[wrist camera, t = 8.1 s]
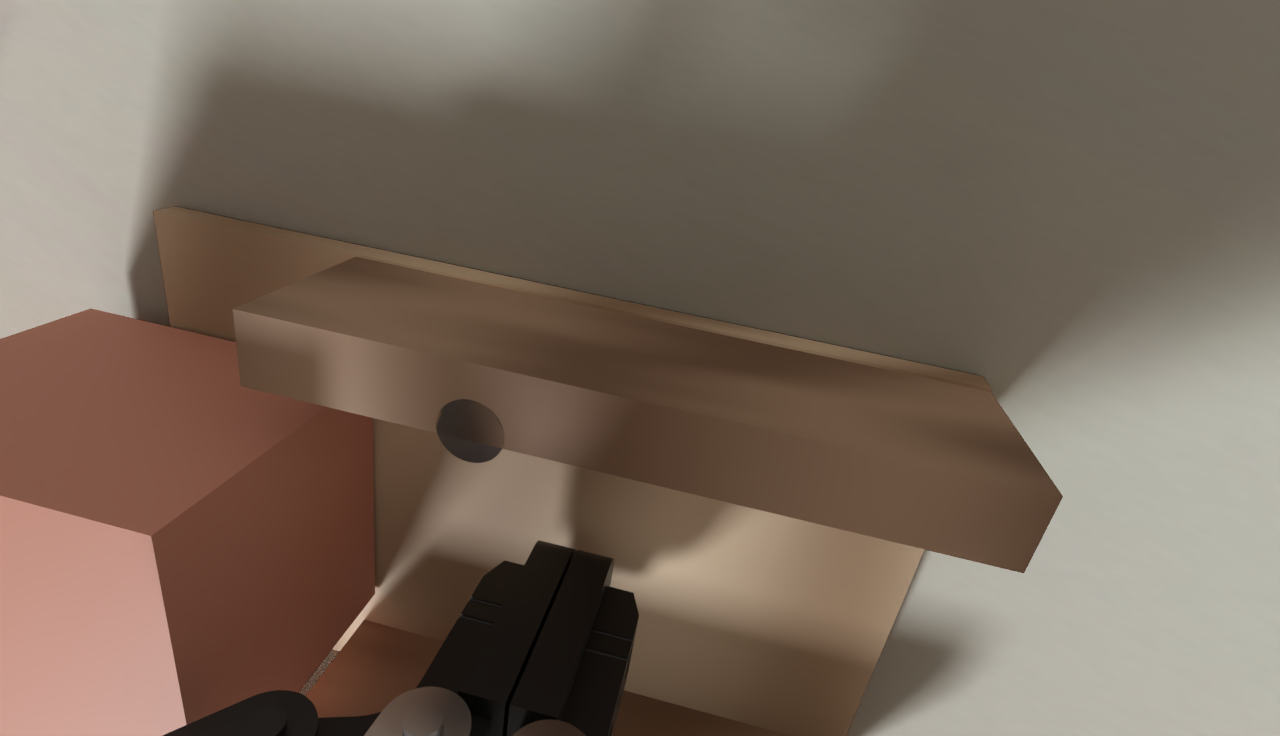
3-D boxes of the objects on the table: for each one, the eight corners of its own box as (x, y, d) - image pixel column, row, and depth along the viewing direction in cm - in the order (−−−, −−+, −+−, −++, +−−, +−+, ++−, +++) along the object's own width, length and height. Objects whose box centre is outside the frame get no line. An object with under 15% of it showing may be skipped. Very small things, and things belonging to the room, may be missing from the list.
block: (372, 373, 13) (151, 535, 8) (375, 593, 15) (203, 814, 11) (91, 308, 13) (-258, 426, 9) (135, 529, 16) (-126, 712, 11)
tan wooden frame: (983, 376, 11) (1064, 492, 8) (823, 765, 15) (836, 943, 12) (175, 206, 13) (-22, 248, 10) (227, 602, 17) (103, 721, 14)
